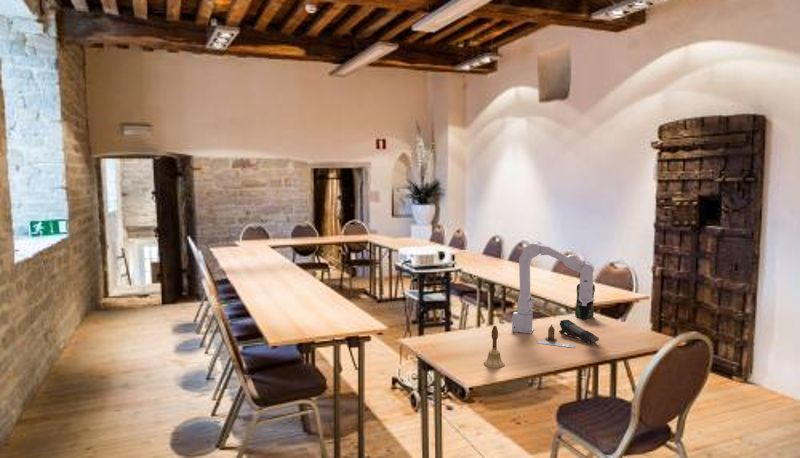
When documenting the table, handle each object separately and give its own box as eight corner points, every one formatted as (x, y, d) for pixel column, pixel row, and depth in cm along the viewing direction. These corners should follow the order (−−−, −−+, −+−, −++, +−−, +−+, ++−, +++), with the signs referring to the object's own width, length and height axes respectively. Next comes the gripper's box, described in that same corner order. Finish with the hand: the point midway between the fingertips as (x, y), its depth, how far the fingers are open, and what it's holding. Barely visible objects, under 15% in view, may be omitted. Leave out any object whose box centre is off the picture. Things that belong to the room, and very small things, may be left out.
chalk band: (537, 343, 239) (537, 342, 239) (538, 340, 243) (538, 340, 243) (573, 348, 233) (573, 347, 233) (574, 345, 236) (574, 345, 236)
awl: (547, 339, 244) (548, 325, 243) (548, 337, 246) (549, 323, 246) (553, 340, 243) (554, 325, 242) (554, 338, 245) (555, 324, 244)
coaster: (544, 340, 243) (544, 339, 243) (546, 337, 248) (546, 336, 248) (555, 342, 241) (555, 341, 241) (557, 338, 246) (557, 338, 246)
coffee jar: (585, 319, 279) (586, 285, 277) (572, 316, 285) (574, 282, 284) (596, 317, 284) (597, 283, 283) (583, 313, 291) (585, 280, 289)
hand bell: (507, 368, 208) (508, 328, 207) (486, 368, 208) (487, 328, 206) (501, 360, 216) (502, 322, 215) (481, 361, 216) (482, 323, 214)
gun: (562, 331, 257) (568, 314, 253) (593, 356, 242) (600, 338, 238) (556, 332, 255) (562, 315, 251) (586, 357, 239) (593, 339, 236)
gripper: (594, 293, 236) (592, 322, 237) (596, 286, 249) (594, 315, 250) (577, 291, 239) (576, 320, 240) (580, 285, 252) (579, 313, 253)
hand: (584, 317), depth 245 cm, fingers open, 7 cm apart
